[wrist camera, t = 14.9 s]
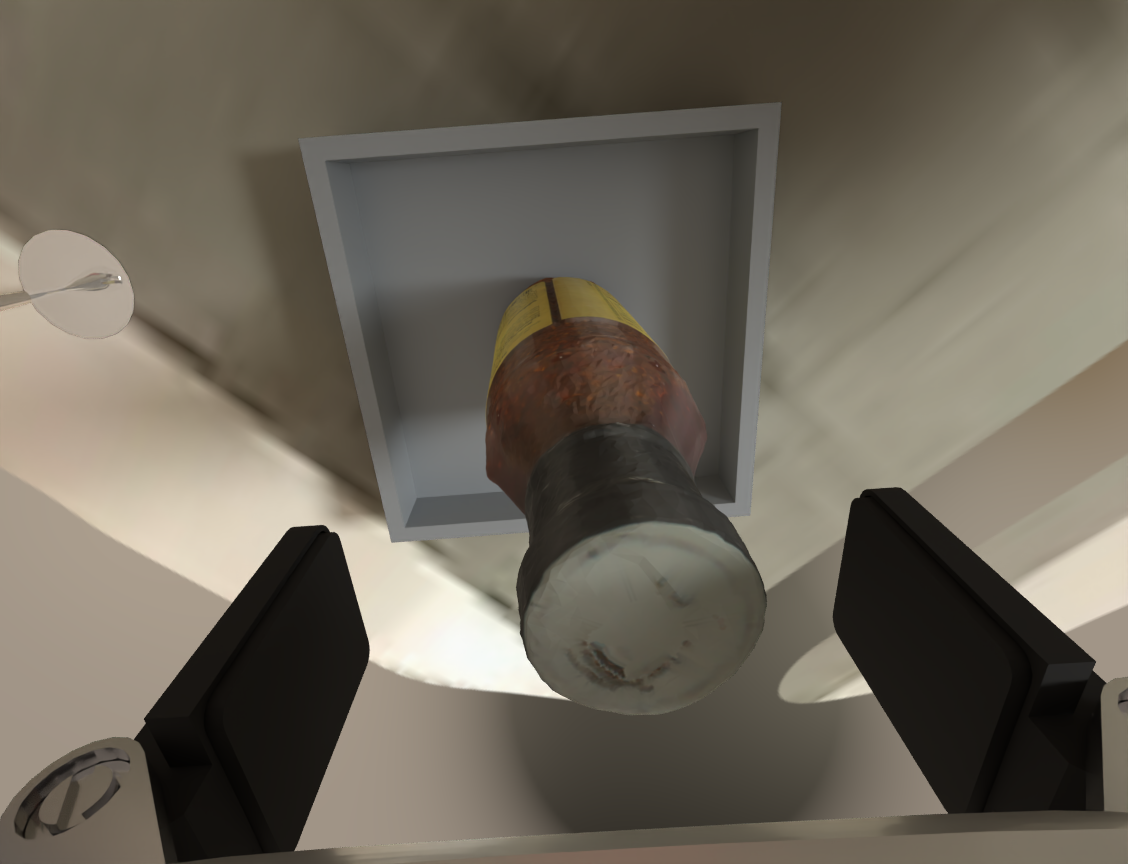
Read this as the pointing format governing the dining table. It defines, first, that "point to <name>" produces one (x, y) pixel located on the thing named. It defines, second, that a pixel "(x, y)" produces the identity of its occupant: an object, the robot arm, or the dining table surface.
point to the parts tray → (531, 253)
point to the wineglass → (73, 284)
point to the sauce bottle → (613, 509)
